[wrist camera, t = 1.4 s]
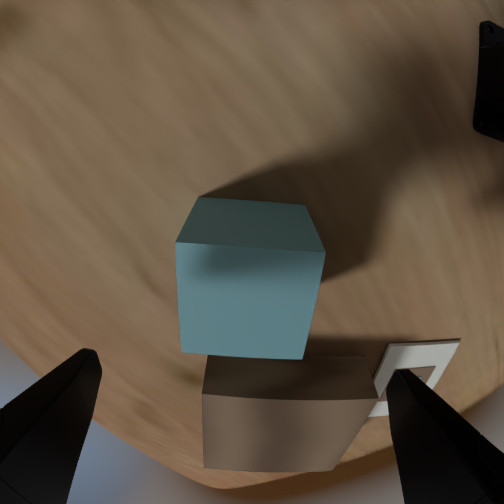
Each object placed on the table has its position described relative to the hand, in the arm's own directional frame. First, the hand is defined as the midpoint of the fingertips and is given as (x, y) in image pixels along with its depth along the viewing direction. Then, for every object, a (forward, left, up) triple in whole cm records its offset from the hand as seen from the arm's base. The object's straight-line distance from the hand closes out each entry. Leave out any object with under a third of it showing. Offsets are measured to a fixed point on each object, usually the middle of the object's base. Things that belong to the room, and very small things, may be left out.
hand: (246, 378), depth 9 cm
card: (-12, +10, -8) cm, 18 cm away
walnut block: (-3, +12, -9) cm, 15 cm away
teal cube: (0, 0, -8) cm, 8 cm away
